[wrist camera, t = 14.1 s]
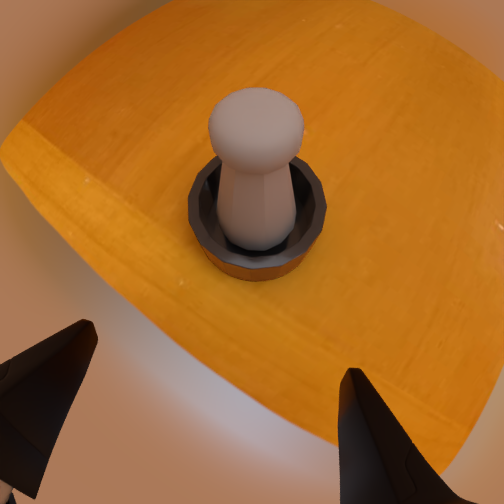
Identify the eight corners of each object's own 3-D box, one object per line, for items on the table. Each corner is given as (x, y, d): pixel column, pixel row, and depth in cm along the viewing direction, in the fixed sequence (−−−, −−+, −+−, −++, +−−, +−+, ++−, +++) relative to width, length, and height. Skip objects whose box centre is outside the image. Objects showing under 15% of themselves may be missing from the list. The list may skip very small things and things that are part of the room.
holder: (323, 273, 23) (338, 259, 19) (203, 287, 23) (191, 276, 19) (302, 170, 26) (310, 140, 22) (197, 181, 26) (187, 153, 21)
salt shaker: (283, 266, 23) (314, 180, 10) (212, 250, 23) (167, 153, 11) (297, 200, 24) (329, 82, 12) (231, 186, 25) (213, 64, 12)
